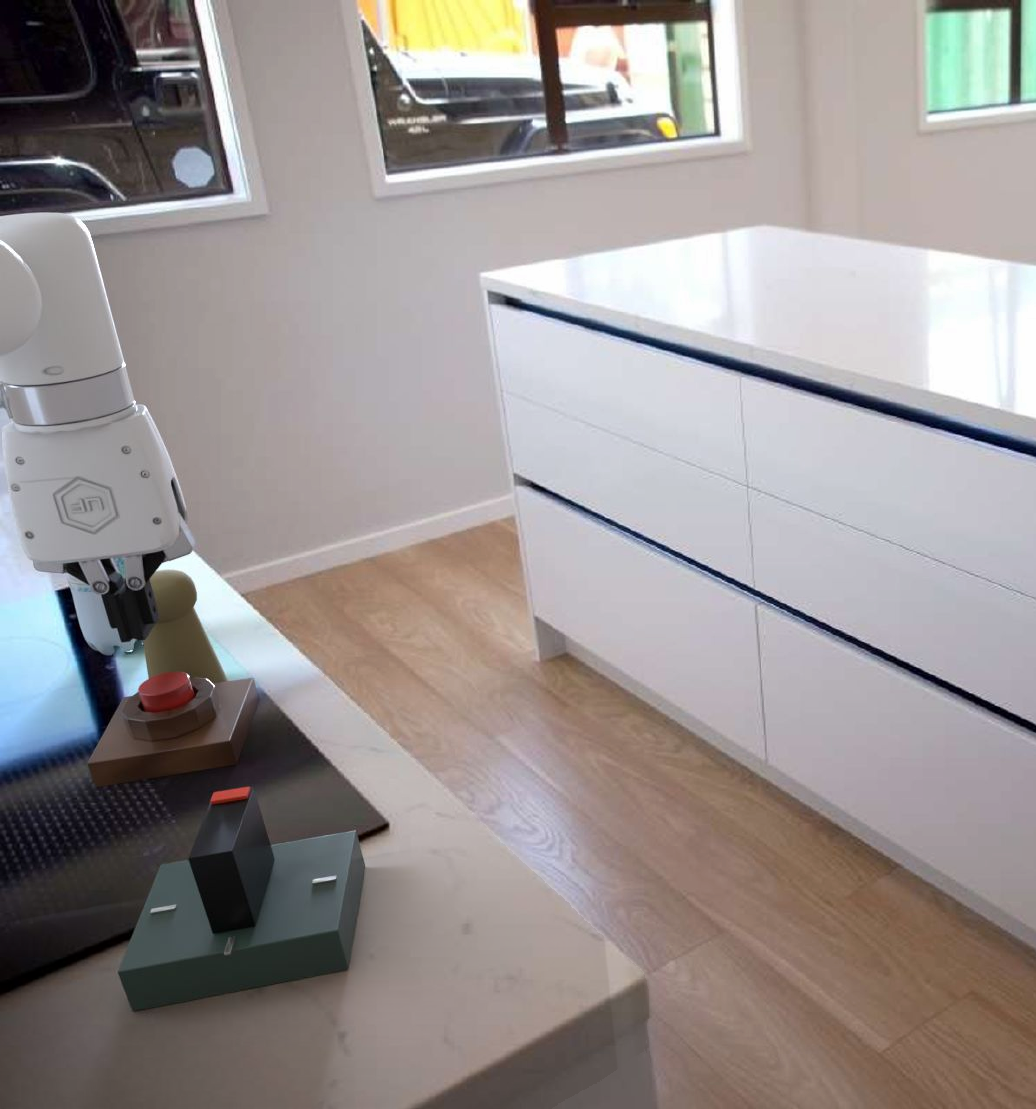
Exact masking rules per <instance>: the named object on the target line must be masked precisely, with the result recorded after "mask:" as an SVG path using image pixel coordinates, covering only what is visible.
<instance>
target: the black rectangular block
mask: <svg viewBox="0 0 1036 1109" xmlns="http://www.w3.org/2000/svg"><path fill="white" fill-rule="evenodd" d="M187 860H189V863H190V866H191V869H192V872H193V875H194V878H195V881H196V884H197V887H198V891H199V894H200V897H201V900H202V903H203V906H204V909H205V912H206V915H207V918H208V921H209V924H210V927H211V930H212V933H213V934H215V933H220V932H226V931H231V930H237V929H242V928H248V927H253V926H256V922H257V919H258V915H259V912H260V908H261V905H262V902H263V898H264V895H265V891H266V888H267V884H268V881H269V877H270V874H271V870H272V867H273V864H274V860H275V858H274V855H273V851H272V848H271V842H270V838H269V835H268V830H267V828H266V825H265V821H264V817H263V813H262V811H261V807H260V805H259V800H258V796H257V794H256V791H255V787H251V786H245V787H237V788H231V789H225V790H220V791H214V792H213V793H212V796H211V798H210V800H209V803H208V806H207V808H206V811H205V814H204V816H203V818H202V822H201V824H200V827H199V829H198V831H197V834H196V836H195V839H194V841H193V844H192V846H191V850H190V852H189V854H188V857H187Z"/></svg>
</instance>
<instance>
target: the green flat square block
mask: <svg viewBox="0 0 1036 1109" xmlns="http://www.w3.org/2000/svg"><path fill="white" fill-rule="evenodd" d="M357 832H358V831H356V830H351V831H345V832H339V833H334V834H328V835H322V836H317V837H311V838H305V839H299V840H294V841H288V842H283V843H276V844H272V845H271V848H272V851H273V855H274V858H275V860H274V864H273V867H272V870H271V874H270V877H269V881H268V884H267V888H266V891H265V895H264V898H263V902H262V905H261V908H260V912H259V915H258V919H257V922H256V926H253V927H248V928H242V929H237V930H231V931H226V932H220V933H215V934H213V933H212V930H211V927H210V924H209V921H208V918H207V915H206V912H205V909H204V906H203V903H202V900H201V897H200V894H199V891H198V887H197V884H196V881H195V878H194V875H193V872H192V869H191V866H190V863H189V860H188V859H186V860H180V861H173V862H167V863H163V864H160V866H159V868H158V871H157V873H156V876H155V878H154V880H153V883H152V886H151V888H150V890H149V893H148V895H147V898H146V899H145V903H144V904H143V908H142V910H141V912H140V915H139V918H138V920H137V923H136V925H135V927H134V929H133V932H132V935H131V938H130V940H129V942H128V945H127V946H126V947H127V948H126V949H125V951H124V952H125V953H124V955H123V957H122V959H121V963H120V965H119V967H118V970H117V974H118V978H119V980H120V982H121V985H122V988H123V991H124V993H125V996H126V998H127V1001H128V1004H129V1006H130V1010H131V1011H132V1012H137V1011H141V1010H146V1009H151V1008H157V1007H162V1006H167V1005H173V1004H178V1003H183V1002H187V1001H193V1000H198V999H203V998H208V997H214V996H218V995H219V996H220V995H224V994H230V993H234V992H240V991H244V990H250V989H256V988H259V987H264V986H269V985H275V984H280V983H286V982H291V981H296V980H300V979H306V978H312V977H317V976H320V975H327V974H332V973H335V972H336V973H337V972H342V971H346V970H347V971H348V970H349V968H350V961H351V955H352V950H353V943H354V937H355V931H356V925H357V919H358V913H359V907H360V903H361V902H360V901H361V896H362V890H363V883H364V877H365V871H366V862H365V859H364V855H363V851H362V848H361V842H360V841H359V836H358V833H357Z"/></svg>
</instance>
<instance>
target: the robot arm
mask: <svg viewBox="0 0 1036 1109" xmlns="http://www.w3.org/2000/svg"><path fill="white" fill-rule="evenodd" d="M102 276H103V275H102V272H101V269H100V265H99V261H98V257H97V253H96V250H95V247H94V242H93V240H92V236H91V234H90V231H89V230H88V228H87V226H86V225H85V224H84V222H83V221H82V220H80V219H79V218H78V217H76V216H74V215H72V214H68V213H64V212H26V213H15V214H7V215H0V410H5V412H6V414H7V416H8V419H9V420H12V421H11V422H8V423H7V424H6V425H4V426H2V427H1V446H2V457H3V466H4V473H5V479H6V485H7V490H8V497H9V501H10V505H11V510H12V515H13V519H14V524H15V527H16V532H17V536H18V539H19V542H20V545H21V549H22V550H23V553H24V554H25V556H26V558H27V559H29V560H30V561H32V566H33V568H34V570H35V571H37V572H40V573H51V574H62V575H63V574H65V573H69V574H70V575H72V576H74V577H75V578H77V579H79V580H81V581H82V582H84V583H86V584H87V585H89V586H90V587H91V589H92V591H93V592H94V593H96V594H98V595H101V597H102V600H103V604H104V607H105V610H106V614H107V617H108V621H109V624H110V627H111V628H112V629H115V628H117V630H118V634H119V637H120V640H121V642H122V643H123V642H130V641H131V640H133V638H134V639H137V640H136V641H140V640H146V638H147V637H148V635H149V633H150V632H151V630H152V628H153V627H154V625H155V623H157V621H158V619H159V612H158V608H157V604H156V600H155V597H154V593H153V590H152V586H151V582H150V578H151V577H152V575H153V574H154V573H155V571H158V569H159V568H160V567H161V565H162V564H165V563H167V562H171V561H174V560H177V559H180V558H183V557H185V556H189V555H190V554H192V552H193V551H194V549H195V548H196V546H197V541H196V539H195V537H194V535H193V534H192V532H191V530H190V528H189V527H188V524H187V523H188V511H187V507H186V502H185V498H184V494H183V491H182V488H181V485H180V482H179V479H178V476H177V474H176V470H175V468H174V465H173V462H172V460H171V456H170V454H169V452H168V449H167V448H166V445H165V443H164V440H163V438H162V436H161V434H160V432H159V429H158V427H157V425H156V423H155V421H154V419H153V418H152V415H151V414H150V412H149V410H148V408H147V407H146V405H144V404H136V401H135V397H134V393H133V389H132V386H131V382H130V378H129V374H128V370H127V368H126V363H125V359H124V355H123V352H122V348H121V344H120V340H119V337H118V333H117V329H116V326H115V322H114V317H113V314H112V310H111V306H110V303H109V298H108V295H107V290H106V288H105V284H104V280H103V277H102ZM116 557H124V567H125V576H126V578H123V576H122V575H121V574H120V572H119V569H118V567H117V565H116V563H115V561H114V559H113V558H116Z"/></svg>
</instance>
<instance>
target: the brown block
mask: <svg viewBox="0 0 1036 1109" xmlns="http://www.w3.org/2000/svg"><path fill="white" fill-rule="evenodd" d="M189 678H190V681H191V685H192V688H193V691H194V695H195V697H194V699H193V700H191V701H190V702H188V703H187V704H185V705H183V706H181V707H178V708H175V709H173V710H170V711H163V712H157V713H150V712H146V711H145V710H144V707H143V704H142V701H141V698H140V695H139V692H138V691H137V692H136V693H135V694H132V695H129V696H128V695H127V696H123V698H122V699H121V701H120V703H119V705H118V706H117V708H116V710H115V712H114V714H113V715H112V717H111V719H110V720H109V723H108V725H107V727H106V728H105V730H104V732H103V734H102V736H101V738H100V739H99V741H98V743H97V745H96V747H95V748H94V750H93V752H92V753H91V756H90V758H89V759H88V760H87V763H86V765H87V767H88V770H89V773H90V776H91V778H92V782H93V784H94V787H95V788H99V787H107V786H113V785H119V784H125V783H130V782H138V781H142V780H149V779H154V778H156V779H157V778H162V777H168V776H173V775H179V774H185V773H192V772H199V771H205V770H210V769H217V768H222V767H229V766H234V765H237V764H238V761H239V759H240V756H241V753H242V750H243V748H244V745H245V742H246V739H247V737H248V734H249V730H250V728H251V725H252V723H253V719H254V717H255V714H256V712H257V709H258V706H259V703H260V696H259V691H258V688H257V685H256V681H255V678H254V677H248V678H241V679H234V680H228V681H227V682H220V683H214V684H212V683H211V682H210V681H209V680H208V679H205V678H197V677H189Z"/></svg>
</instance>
